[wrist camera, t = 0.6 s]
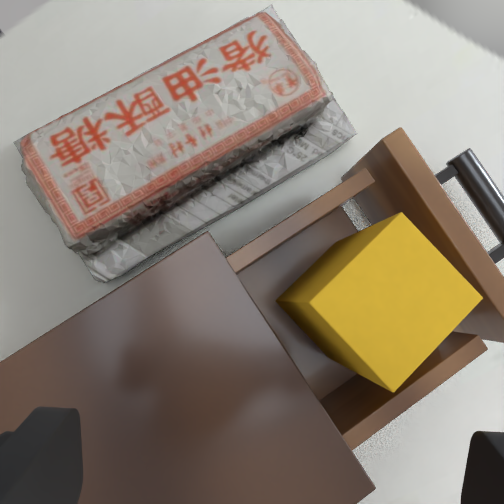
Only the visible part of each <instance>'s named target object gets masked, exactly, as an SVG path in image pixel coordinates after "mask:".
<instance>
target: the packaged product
mask: <svg viewBox="0 0 504 504" xmlns="http://www.w3.org/2000/svg"><path fill="white" fill-rule="evenodd" d="M356 134H357V132H356V130H355V129H354V127H353V125H352V124H351V122H350V121H349V119H348V118H347V116H346V114H345V113H344V111H343V110H342V109H341V108H340V106H339V105H338V103H337V102H336V100H335V98H334V97H333V93H332V92H331V91H329V88H328V86H327V84H326V83H325V81H324V79H323V77H322V76H321V74H320V72H319V70H318V67H317V64H316V63H315V62H314V61H313V60H312V59H311V58H310V57H309V55H308V54H307V53H306V52H305V51H303V50H302V49H301V48H300V46H299V44H298V43H297V41H296V40H295V38H294V37H293V35H292V34H291V32H290V31H289V29H288V28H287V26H286V25H285V23H284V22H283V20H282V19H280V18H279V16H278V15H277V13H276V11H275V9H274V7H273V6H272V5H270V6H269V7H267V8H266V9H264V10H262V11H260V12H258V13H257V14H255V15H253V16H251V17H246V18H245V19H243V20H241V21H239V22H238V23H236V24H234V25H232V26H230V27H229V28H227V29H226V30H224V31H222V32H220V33H218V34H216V35H215V36H213V37H211V38H209V39H207V40H205V41H203V42H201V43H199V44H197V45H195V46H194V47H192V48H190V49H188V50H185V51H183V52H182V53H180V54H178V55H176V56H174V57H172V58H170V59H168V60H167V61H165V62H163V63H161V64H159V65H157V66H155V67H153V68H151V69H149V70H147V71H145V72H143V73H141V74H140V75H138V76H136V77H135V78H133V79H132V80H130V81H128V82H126V83H125V84H123V85H120V86H118V87H116V88H114V89H112V90H111V91H109V92H107V93H105V94H103V95H101V96H99V97H98V98H96V99H94V100H92V101H90V102H88V103H86V104H84V105H82V106H81V107H79V108H77V109H75V110H73V111H71V112H70V113H67V114H65V115H62V116H61V117H59V118H58V119H56V120H54V121H52V122H50V123H48V124H46V125H45V126H43V127H41V128H39V129H36V130H35V131H33V132H31V133H29V134H27V135H25V136H24V137H22V138H20V139H18V140H17V141H15V142H13V143H14V144H15V145H16V147H17V149H18V151H19V152H20V154H21V156H22V158H23V160H22V165H21V167H22V171H23V172H24V173H25V175H26V184H27V185H28V187H29V188H30V189H31V191H32V192H33V194H34V195H35V197H36V198H37V200H38V201H39V203H40V204H41V206H42V207H43V208H44V210H45V211H46V213H48V214H49V215H50V216H51V219H52V221H53V222H54V223H55V224H56V225H57V227H58V228H59V230H60V232H61V235H62V238H63V241H64V243H65V245H66V246H67V247H68V248H69V249H72V250H73V251H74V252H75V253H76V252H78V253H79V255H80V257H81V258H82V260H83V261H84V263H85V265H86V266H87V268H88V269H89V271H90V273H91V274H92V276H93V277H94V279H95V280H97V281H100V282H103V283H105V282H107V281H109V280H112V279H114V278H116V277H118V276H121V275H123V274H124V273H126V272H127V271H129V270H130V269H132V268H133V267H135V266H136V265H138V264H139V263H141V262H142V261H144V260H145V259H147V258H148V257H150V256H151V255H153V254H155V253H157V252H159V251H161V250H163V249H165V248H166V247H168V246H170V245H172V244H174V243H176V242H178V241H180V240H182V239H184V238H186V237H188V236H189V235H191V234H193V233H195V232H197V231H199V230H201V229H202V228H204V227H206V226H208V225H210V224H212V223H213V222H215V221H217V220H219V219H221V218H222V217H224V216H226V215H228V214H230V213H231V212H233V211H235V210H237V209H238V208H240V207H242V206H243V205H245V204H247V203H248V202H250V201H252V200H253V199H255V198H257V197H258V196H260V195H262V194H264V193H265V192H267V191H269V190H270V189H272V188H274V187H275V186H277V185H279V184H280V183H282V182H284V181H285V180H287V179H289V178H290V177H292V176H294V175H295V174H297V173H299V172H300V171H302V170H304V169H305V168H307V167H309V166H310V165H312V164H314V163H315V162H317V161H319V160H320V159H322V158H324V157H325V156H327V155H329V154H330V153H332V152H333V151H334V150H336V149H337V148H338V147H340V146H341V145H342V144H344V143H345V142H346V141H348V140H349V139H350V138H352V137H353V136H354V135H356Z"/></svg>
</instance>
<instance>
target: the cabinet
mask: <svg viewBox="0 0 504 504" xmlns="http://www.w3.org/2000/svg"><path fill="white" fill-rule="evenodd" d="M39 406H41V407H59V408H76V409H77V410H78V412H79V415H80V423H81V441H82V458H83V483H82V489H81V493H80V497H79V500H78V503H77V504H357V503H358V502H359V501H361V500H362V499H363V498H365V497H366V496H367V495H368V494H370V493H371V492H372V491H374V490H375V489H376V487H375V485H374V484H373V482H372V481H371V479H370V478H369V476H368V475H367V473H366V472H365V470H364V469H363V467H362V466H361V464H360V462H359V461H358V459H357V458H356V456H355V455H354V453H353V452H352V450H351V449H350V447H349V446H348V444H347V443H346V441H345V440H344V438H343V436H342V435H341V433H340V432H339V430H338V429H337V427H336V426H335V424H334V423H333V421H332V420H331V418H330V417H329V415H328V414H327V412H326V410H325V409H324V407H323V406H322V404H321V403H320V401H319V400H318V398H317V397H316V395H315V394H314V392H313V391H312V389H311V388H310V386H309V384H308V383H307V381H306V380H305V378H304V377H303V375H302V374H301V372H300V371H299V369H298V368H297V366H296V365H295V363H294V362H293V360H292V358H291V357H290V355H289V354H288V352H287V351H286V349H285V348H284V346H283V345H282V343H281V342H280V340H279V339H278V337H277V336H276V334H275V332H274V331H273V329H272V328H271V326H270V325H269V323H268V322H267V320H266V319H265V317H264V316H263V314H262V313H261V311H260V310H259V308H258V306H257V305H256V303H255V302H254V300H253V299H252V297H251V296H250V294H249V293H248V291H247V290H246V288H245V287H244V285H243V284H242V282H241V280H240V279H239V277H238V276H237V274H236V273H235V271H234V270H233V268H232V267H231V265H230V264H229V262H228V261H227V259H226V258H225V256H224V254H223V253H222V251H221V250H220V248H219V247H218V245H217V244H216V242H215V241H214V239H213V238H212V236H211V235H210V233H209V232H208V231H207V232H205V233H203V234H202V235H200V236H199V237H197V238H195V239H194V240H192V241H191V242H189V243H188V244H186V245H184V246H183V247H181V248H180V249H178V250H177V251H175V252H173V253H172V254H170V255H169V256H167V257H165V258H164V259H162V260H161V261H159V262H158V263H156V264H154V265H153V266H151V267H150V268H148V269H146V270H145V271H143V272H142V273H140V274H139V275H137V276H135V277H134V278H132V279H131V280H129V281H128V282H126V283H124V284H123V285H121V286H120V287H118V288H116V289H115V290H113V291H112V292H110V293H109V294H107V295H105V296H104V297H102V298H101V299H99V300H98V301H96V302H94V303H93V304H91V305H90V306H88V307H86V308H85V309H83V310H82V311H80V312H79V313H77V314H75V315H74V316H72V317H71V318H69V319H67V320H66V321H64V322H63V323H61V324H60V325H58V326H56V327H55V328H53V329H52V330H50V331H49V332H47V333H45V334H44V335H42V336H41V337H39V338H37V339H36V340H34V341H33V342H31V343H30V344H28V345H26V346H25V347H23V348H22V349H20V350H19V351H17V352H15V353H14V354H12V355H11V356H9V357H7V358H6V359H4V360H3V361H1V362H0V434H2V433H4V432H5V431H13V432H14V431H15V430H16V429H17V428H18V427H19V426H20V424H21V423H22V422H23V421H24V420H25V419H26V418H27V417H28V416H29V414H30V413H31V412H32V411H33V410H34V409H35V408H37V407H39Z"/></svg>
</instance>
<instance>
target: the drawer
mask: <svg viewBox="0 0 504 504" xmlns="http://www.w3.org/2000/svg"><path fill="white" fill-rule="evenodd" d="M446 165H447V166H448V167H446V168H445V169H443V170H442V171H440V172H439V173H437V174H436V175H434V174H433V172H432V171H431V170H430V168H429V167H428V165H427V164H426V162H425V161H424V159H423V158H422V156H421V155H420V153H419V152H418V150H417V149H416V148H415V146H414V145H413V143H412V142H411V140H410V139H409V137H408V136H407V134H406V133H405V131H404V130H403V129H402V128H398V129H397V130H395V131H393V132H392V133H390V134H389V135H387V136H386V137H384V138H383V139H381V140H380V141H379V142H378V143H377V144H376V145H375V146H374V147H373V148H372V149H371V150H370V151H369V152H368V153H367V154H366V155H365V156H363V157H362V158H361V159H360V160H359V161H358V162H357V163H356V164H355V165H354V166H353V167H352V168H351V169H350V170H349V171H348V172H347V173H346V174H345V175H343V176H342V177H341V180H342V181H343V182H342V183H341V184H339V185H338V186H336V187H335V188H333V189H332V190H330V191H329V192H327V193H325V194H324V195H322V196H321V197H319V198H318V199H316V200H315V201H313V202H311V203H310V204H308V205H307V206H305V207H304V208H302V209H301V210H299V211H298V212H296V213H294V214H293V215H291V216H290V217H288V218H287V219H285V220H284V221H282V222H281V223H279V224H277V225H276V226H274V227H273V228H271V229H270V230H268V231H267V232H265V233H263V234H262V235H260V236H259V237H257V238H256V239H254V240H253V241H251V242H250V243H248V244H246V245H245V246H243V247H242V248H240V249H239V250H237V251H236V252H234V253H233V254H231V255H229V256H228V257H226V259H227V261H228V262H229V264H230V265H231V267H232V268H233V270H234V271H235V273H236V274H237V276H238V277H239V279H240V280H241V282H242V284H243V285H244V287H245V288H246V290H247V291H248V293H249V294H250V296H251V297H252V299H253V300H254V302H255V303H256V305H257V306H258V308H259V310H260V311H261V313H262V314H263V316H264V317H265V319H266V320H267V322H268V323H269V325H270V326H271V328H272V329H273V331H274V332H275V334H276V336H277V337H278V339H279V340H280V342H281V343H282V345H283V346H284V348H285V349H286V351H287V352H288V354H289V355H290V357H291V358H292V360H293V362H294V363H295V365H296V366H297V368H298V369H299V371H300V372H301V374H302V375H303V377H304V378H305V380H306V381H307V383H308V384H309V386H310V388H311V389H312V391H313V392H314V394H315V395H316V397H317V398H318V400H319V401H320V403H321V404H322V406H323V407H324V409H325V410H326V412H327V414H328V415H329V417H330V418H331V420H332V421H333V423H334V424H335V426H336V427H337V429H338V430H339V432H340V433H341V435H342V436H343V438H344V440H345V441H346V443H347V444H348V446H349V447H350V449H351V450H353V449H355V448H356V447H357V446H359V445H360V444H361V443H363V442H364V441H365V440H367V439H368V438H369V437H371V436H372V435H373V434H375V433H376V432H377V431H379V430H380V429H381V428H383V427H384V426H386V425H387V424H388V423H390V422H391V421H392V420H394V419H395V418H396V417H398V416H399V415H400V414H402V413H403V412H404V411H406V410H407V409H408V408H410V407H411V406H412V405H414V404H415V403H416V402H418V401H419V400H420V399H422V398H423V397H425V396H426V395H427V394H429V393H430V392H431V391H433V390H434V389H435V388H437V387H438V386H439V385H441V384H442V383H443V382H445V381H446V380H447V379H449V378H450V377H451V376H453V375H454V374H455V373H457V372H458V371H459V370H461V369H462V368H463V367H465V366H466V365H468V364H469V363H470V362H472V361H473V360H474V359H476V358H477V357H478V356H480V355H481V354H482V353H484V352H485V351H486V350H488V348H487V347H486V345H485V344H484V342H483V341H482V339H483V340H490V341H496V342H503V343H504V276H503V275H502V273H501V272H500V271H499V269H498V268H497V266H496V265H495V264H496V263H497V262H498V261H500V260H501V259H503V258H504V196H503V195H502V193H501V192H500V190H499V189H498V187H497V186H496V185H495V183H494V182H493V180H492V179H491V177H490V176H489V174H488V173H487V171H486V170H485V169H484V167H483V166H482V164H481V163H480V161H479V160H478V158H477V157H476V155H475V154H474V153H473V151H472V150H471V149H470V148H469V149H467V150H465V151H464V152H462V153H460V154H459V155H457V156H456V157H454V158H453V159H451V160H450V161H448V162H447V163H446ZM454 176H455V178H456V179H457V181H458V182H459V184H460V185H461V186H462V188H463V189H464V191H465V192H466V194H467V195H468V197H469V198H470V200H471V201H472V203H473V204H474V205H475V207H476V208H477V210H478V211H479V213H480V214H481V216H482V217H483V219H484V220H485V221H486V223H487V224H488V226H489V227H490V229H491V230H492V232H493V233H494V235H495V236H496V238H497V239H498V240H499V242H500V243H501V244H498V245H497V246H495V247H494V248H492V249H491V250H490V251H488V252H486V250H485V249H484V247H483V246H482V244H481V243H480V241H479V240H478V238H477V237H476V235H475V234H474V232H473V231H472V230H471V228H470V227H469V225H468V224H467V222H466V221H465V219H464V218H463V216H462V215H461V213H460V212H459V211H458V209H457V208H456V206H455V205H454V203H453V202H452V200H451V199H450V197H449V196H448V194H447V193H446V191H445V190H444V189H443V187H442V186H441V185H442V184H443V183H445V182H446V181H448V180H449V179H451V178H452V177H454ZM353 197H354V199H355V200H356V202H357V203H358V205H359V206H360V208H361V209H362V211H363V212H364V214H365V215H366V217H367V218H368V220H369V221H370V223H371V224H372V225H374V224H376V223H378V222H380V221H383V220H385V219H387V218H389V217H391V216H394V215H396V214H398V213H400V212H402V213H403V214H404V215H405V216H406V217H407V218H408V219H409V220H410V221H411V222H412V223H413V225H414V226H415V227H416V228H417V229H418V230H419V231H420V232H421V233H422V234H423V235H424V236H425V237H426V238H427V239H428V240H429V241H430V242H431V243H432V245H433V246H434V247H435V248H436V249H437V250H438V251H439V252H440V253H441V254H442V255H443V256H444V257H445V258H446V259H447V260H448V261H449V262H450V263H451V264H452V266H453V267H454V268H455V269H456V270H457V271H458V272H459V273H460V274H461V275H462V276H463V277H464V278H465V279H466V280H467V281H468V282H469V283H470V284H471V286H472V287H473V288H474V289H475V290H476V291H477V292H478V293H479V294H480V295H481V296H482V297H483V299H482V300H481V301H480V302H479V303H478V304H477V305H476V306H475V307H474V308H473V309H472V311H471V312H470V313H469V314H468V315H467V316H466V317H465V318H464V319H463V320H462V321H461V322H460V323H459V324H458V325H457V326H456V327H455V328H454V330H453V331H452V332H451V333H450V334H449V335H448V336H447V337H446V338H445V339H444V340H443V341H442V342H441V343H440V344H439V345H438V346H437V347H436V349H435V350H434V351H433V352H432V353H431V354H430V355H429V356H428V357H427V358H426V359H425V360H424V361H423V362H422V363H421V364H420V365H419V366H418V368H417V369H416V370H415V371H414V372H413V373H412V374H411V375H410V376H409V377H408V378H407V379H406V380H405V381H404V382H403V383H402V384H401V385H400V387H399V388H398V389H397V390H396V391H395V392H391V391H389V390H387V389H385V388H384V387H382V386H380V385H378V384H376V383H374V382H372V381H370V380H369V379H367V378H365V377H363V376H361V375H359V374H357V373H356V372H354V371H352V370H350V369H348V368H346V367H344V366H342V365H341V364H339V363H337V362H335V361H333V360H331V359H329V358H328V357H327V356H326V355H325V354H324V352H323V351H322V350H321V349H320V348H319V347H318V346H317V345H316V344H315V343H314V342H313V341H312V340H311V339H310V338H309V336H308V335H307V334H306V333H305V332H304V331H303V330H302V329H301V328H300V327H299V326H298V325H297V324H296V323H295V322H294V320H293V319H292V318H291V317H290V316H289V315H288V314H287V313H286V312H285V311H284V310H283V309H282V308H281V307H280V306H279V305H278V303H277V302H276V299H277V298H278V297H279V296H280V295H281V294H283V293H284V292H285V291H286V290H287V289H288V288H289V287H290V286H291V285H292V284H293V283H294V282H295V281H296V280H297V279H298V278H299V277H300V276H301V275H302V274H303V273H304V272H305V271H306V270H307V269H308V268H309V267H311V266H312V265H313V264H314V263H315V262H316V261H317V260H318V259H319V258H320V257H321V256H322V255H323V254H324V253H325V252H326V251H327V250H328V249H329V248H330V247H331V246H332V245H333V244H334V243H335V242H337V241H339V240H341V239H343V238H346V237H348V236H350V235H352V234H354V233H356V232H358V230H357V229H356V227H355V226H354V224H353V223H352V221H351V220H350V218H349V217H348V215H347V214H346V213H345V211H344V210H343V208H342V207H341V206H342V205H344V204H345V203H346V202H348V201H349V200H351V199H352V198H353Z"/></svg>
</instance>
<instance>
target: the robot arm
mask: <svg viewBox="0 0 504 504" xmlns="http://www.w3.org/2000/svg"><path fill="white" fill-rule="evenodd" d="M82 483H83V458H82V441H81V423H80V415H79V412H78V410H77V409H76V408H59V407H41V406H39V407H37V408H35V409H34V410H33V411H32V412H31V413H30V414H29V416H28V417H27V418H26V419H25V420H24V421H23V422H22V423H21V424H20V426H19V427H18V428H17V429H16V430H15V431H14V432H13V431H5V432H4V433H2V434H0V504H77V503H78V500H79V497H80V493H81V489H82ZM461 504H504V432H486V431H477V432H475V433H474V434H473V436H472V438H471V441H470V447H469V453H468V458H467V464H466V470H465V476H464V482H463V487H462V493H461Z"/></svg>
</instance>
